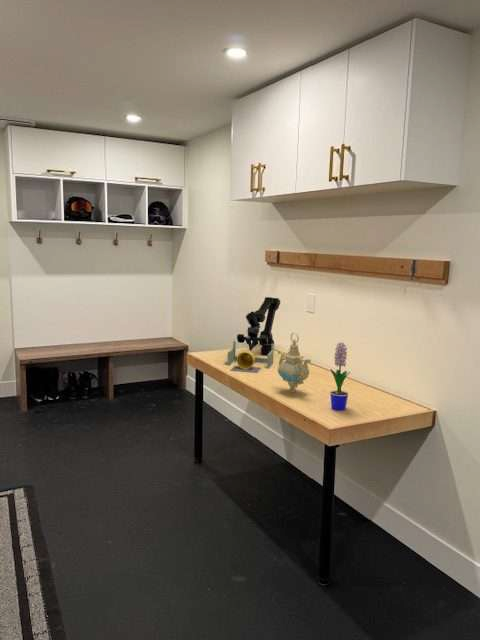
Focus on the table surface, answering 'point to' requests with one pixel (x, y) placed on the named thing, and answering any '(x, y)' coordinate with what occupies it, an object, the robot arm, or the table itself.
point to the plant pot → (245, 360)
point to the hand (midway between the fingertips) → (250, 350)
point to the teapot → (293, 366)
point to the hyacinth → (339, 379)
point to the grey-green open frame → (232, 357)
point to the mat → (252, 369)
